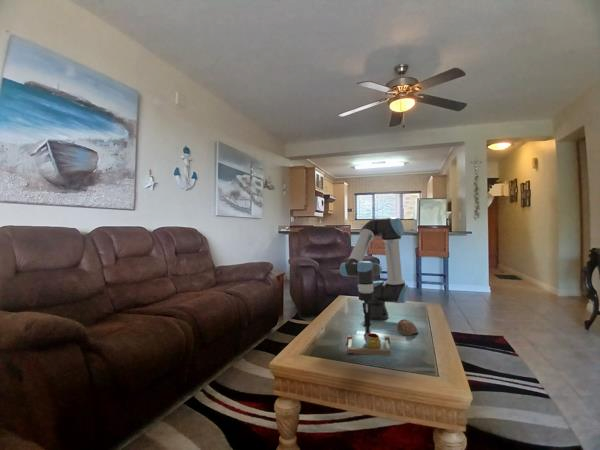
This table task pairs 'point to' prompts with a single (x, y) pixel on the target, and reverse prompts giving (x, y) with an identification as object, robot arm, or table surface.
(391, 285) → the robot arm
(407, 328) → the seashell
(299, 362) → the table surface
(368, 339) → the mug
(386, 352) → the pocket
